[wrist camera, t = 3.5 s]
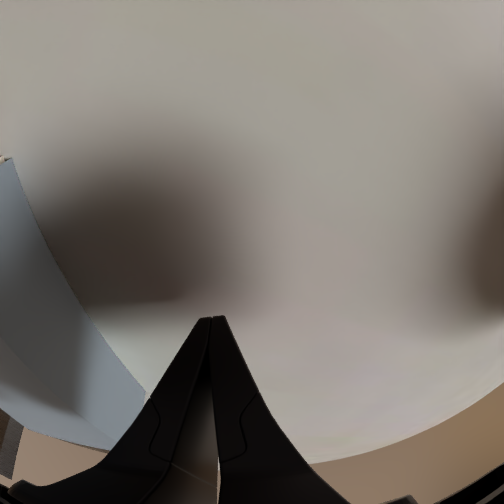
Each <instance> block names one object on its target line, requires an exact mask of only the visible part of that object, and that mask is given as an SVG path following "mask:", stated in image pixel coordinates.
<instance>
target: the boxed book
mask: <svg viewBox="0 0 504 504" xmlns="http://www.w3.org/2000/svg"><path fill="white" fill-rule="evenodd" d="M145 392H146V391H145V390H144V389H143V387H142V386H141V385H140V384H139V383H138V382H137V380H136V379H135V378H134V377H133V376H132V374H131V373H130V372H129V371H128V369H127V368H126V367H125V366H124V364H123V363H122V362H121V361H120V359H119V358H118V357H117V356H116V354H115V353H114V352H113V350H112V349H111V348H110V346H109V345H108V344H107V342H106V341H105V339H104V338H103V337H102V335H101V334H100V332H99V331H98V330H97V328H96V327H95V325H94V324H93V322H92V321H91V319H90V318H89V316H88V315H87V313H86V312H85V310H84V309H83V307H82V306H81V304H80V302H79V301H78V299H77V298H76V296H75V294H74V293H73V291H72V289H71V288H70V286H69V284H68V283H67V281H66V279H65V277H64V276H63V274H62V272H61V270H60V268H59V267H58V265H57V263H56V261H55V259H54V257H53V255H52V253H51V251H50V249H49V247H48V245H47V243H46V241H45V239H44V237H43V235H42V233H41V231H40V229H39V227H38V224H37V222H36V220H35V218H34V215H33V213H32V211H31V208H30V206H29V204H28V201H27V199H26V196H25V194H24V191H23V188H22V186H21V183H20V180H19V177H18V175H17V172H16V169H15V166H14V163H13V159H12V158H11V159H9V160H7V161H5V160H4V157H3V156H1V157H0V408H1V409H2V410H3V411H5V412H6V413H7V414H8V415H10V416H11V417H12V418H13V419H15V420H16V421H17V422H19V423H20V424H22V425H23V426H24V427H26V428H27V429H29V430H31V431H34V432H38V433H40V434H44V435H47V436H50V437H54V438H57V439H61V440H64V441H68V442H72V443H76V444H81V445H85V446H90V447H95V448H100V449H105V450H111V449H112V448H113V447H114V446H115V444H116V443H117V442H118V441H119V439H120V438H121V437H122V436H123V434H124V433H125V432H126V431H127V429H128V428H129V427H130V425H131V424H132V423H133V421H134V420H135V419H136V417H137V416H138V414H139V413H140V411H141V410H142V408H143V404H144V398H145Z"/></svg>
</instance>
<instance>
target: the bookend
mask: <svg viewBox="0 0 504 504" xmlns="http://www.w3.org/2000/svg"><path fill="white" fill-rule="evenodd" d="M23 428H24V426H23V425H22V424H20V423H19V422H17V421H16V420H15V419H13V418H12V417H11V416H10V415H8V414H7V413H6V412H5V411H3V410H2V409H1V408H0V474H1V475H3V476H5V477H7V478H9V479H12V475H13V469H14V465H15V460H16V455H17V451H18V447H19V443H20V439H21V435H22V431H23Z"/></svg>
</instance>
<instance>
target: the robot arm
mask: <svg viewBox="0 0 504 504" xmlns="http://www.w3.org/2000/svg"><path fill="white" fill-rule="evenodd" d="M150 398H151V399H150ZM150 398H149V399H148V400H147V402H146V404H145V405H144V407H143V408H142V410H141V411H140V413H139V414H138V416H137V417H136V419H135V420H134V421H133V423H132V424H131V425H130V427H129V428H128V429H127V431H126V432H125V433H124V434H123V436H122V437H121V438H120V439H119V441H118V442H117V443H116V444H115V446H114V447H113V448H112V449H111V451H110V452H109V453H108V454H107V455H106V457H105V458H104V459H103V460H102V461H101V462H99V463H98V464H97V465H95V466H94V467H92V468H90V469H87V470H85V471H83V472H80V473H78V474H76V475H73V476H71V477H69V478H66V479H64V480H61V481H59V482H56V483H53V484H51V485H47V486H36V485H34V484H32V483H29V482H27V481H25V480H20V481H19V482H17V483H15V484H13V485H12V487H10V488H8V487H6V486H4V485H2V484H0V504H217V488H216V487H217V473H218V457H219V463H220V475H221V484H220V493H219V502H218V504H350V503H349V502H348V501H347V500H346V499H344V498H343V497H342V496H341V495H340V494H339V493H338V492H336V491H335V490H334V489H333V488H332V487H331V486H330V485H329V484H328V483H326V482H325V481H324V480H323V479H322V478H321V477H320V476H319V475H318V474H317V473H316V472H315V471H314V470H313V469H312V468H311V467H310V466H309V464H308V463H307V462H306V461H305V460H304V458H303V457H302V456H301V455H300V453H299V452H298V451H297V449H296V448H295V447H294V446H293V444H292V443H291V442H290V440H289V439H288V438H287V436H286V435H285V434H284V432H283V431H282V430H281V428H280V427H279V425H278V424H277V422H276V421H275V419H274V418H273V416H272V415H271V413H270V411H269V409H268V407H267V406H266V404H265V402H264V400H263V398H262V396H261V394H260V392H259V390H258V388H257V385H256V383H255V381H254V379H253V377H252V375H251V373H250V371H249V369H248V366H247V364H246V362H245V360H244V358H243V356H242V353H241V351H240V349H239V347H238V345H237V342H236V340H235V338H234V336H233V333H232V331H231V329H230V327H229V324H228V322H227V320H226V317H225V316H224V315H220V316H213V317H203V318H200V319H199V320H198V321H197V323H196V324H195V326H194V328H193V329H192V331H191V332H190V334H189V335H188V337H187V339H186V340H185V342H184V343H183V345H182V346H181V348H180V350H179V351H178V353H177V354H176V356H175V358H174V359H173V361H172V362H171V364H170V365H169V367H168V369H167V370H166V372H165V373H164V375H163V377H162V378H161V380H160V381H159V383H158V385H157V386H156V388H155V389H154V391H153V393H152V394H151V396H150ZM380 504H418V503H417V502H416V500H415V499H414V498H413V497H412V496H411V495H406V496H403V497H400V498H397V499H394V500H390V501H387V502H384V503H380ZM434 504H504V463H502V464H500V465H499V466H497V467H496V468H494V469H493V470H491V471H489V472H488V473H486V474H485V475H483V476H482V477H480V478H479V479H477V480H476V481H474V482H472V483H471V484H469V485H467V486H466V487H464V488H462V489H461V490H459V491H457V492H455V493H453V494H451V495H450V496H448V497H446V498H444V499H442V500H440V501H438V502H436V503H434Z"/></svg>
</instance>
